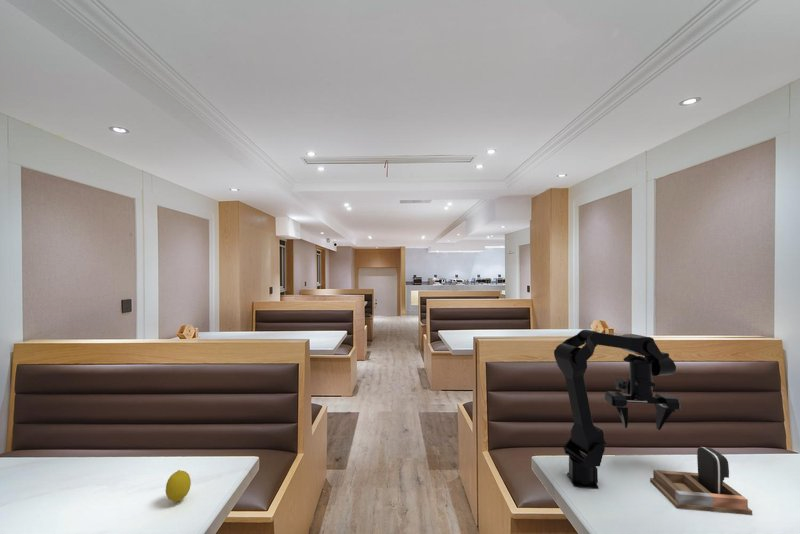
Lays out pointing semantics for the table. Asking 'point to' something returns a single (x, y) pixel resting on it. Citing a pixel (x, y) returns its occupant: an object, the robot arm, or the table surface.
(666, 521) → the table surface
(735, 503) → the dock
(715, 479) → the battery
